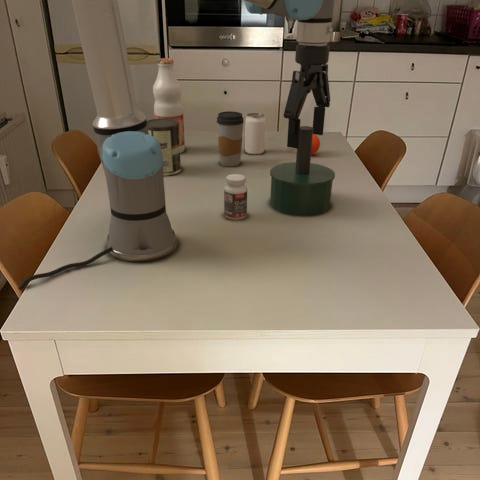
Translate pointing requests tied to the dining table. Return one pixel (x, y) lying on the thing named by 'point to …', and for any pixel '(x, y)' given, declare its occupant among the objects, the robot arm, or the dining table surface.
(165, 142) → the coffee can
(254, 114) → the can
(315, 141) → the clementine
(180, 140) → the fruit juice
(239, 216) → the pill bottle
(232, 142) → the coffee cup
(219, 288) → the dining table surface
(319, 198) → the pot
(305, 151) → the pot lid
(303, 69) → the robot arm
